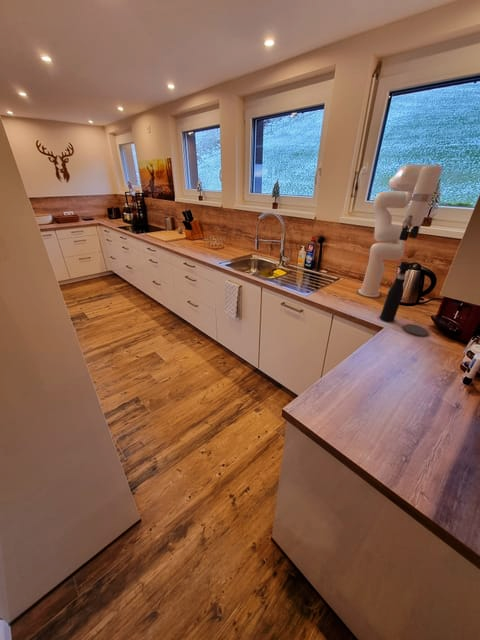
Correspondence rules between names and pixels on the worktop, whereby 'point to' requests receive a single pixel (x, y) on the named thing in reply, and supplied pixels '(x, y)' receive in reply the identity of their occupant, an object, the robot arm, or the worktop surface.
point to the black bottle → (395, 295)
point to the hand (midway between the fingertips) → (407, 238)
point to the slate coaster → (415, 330)
